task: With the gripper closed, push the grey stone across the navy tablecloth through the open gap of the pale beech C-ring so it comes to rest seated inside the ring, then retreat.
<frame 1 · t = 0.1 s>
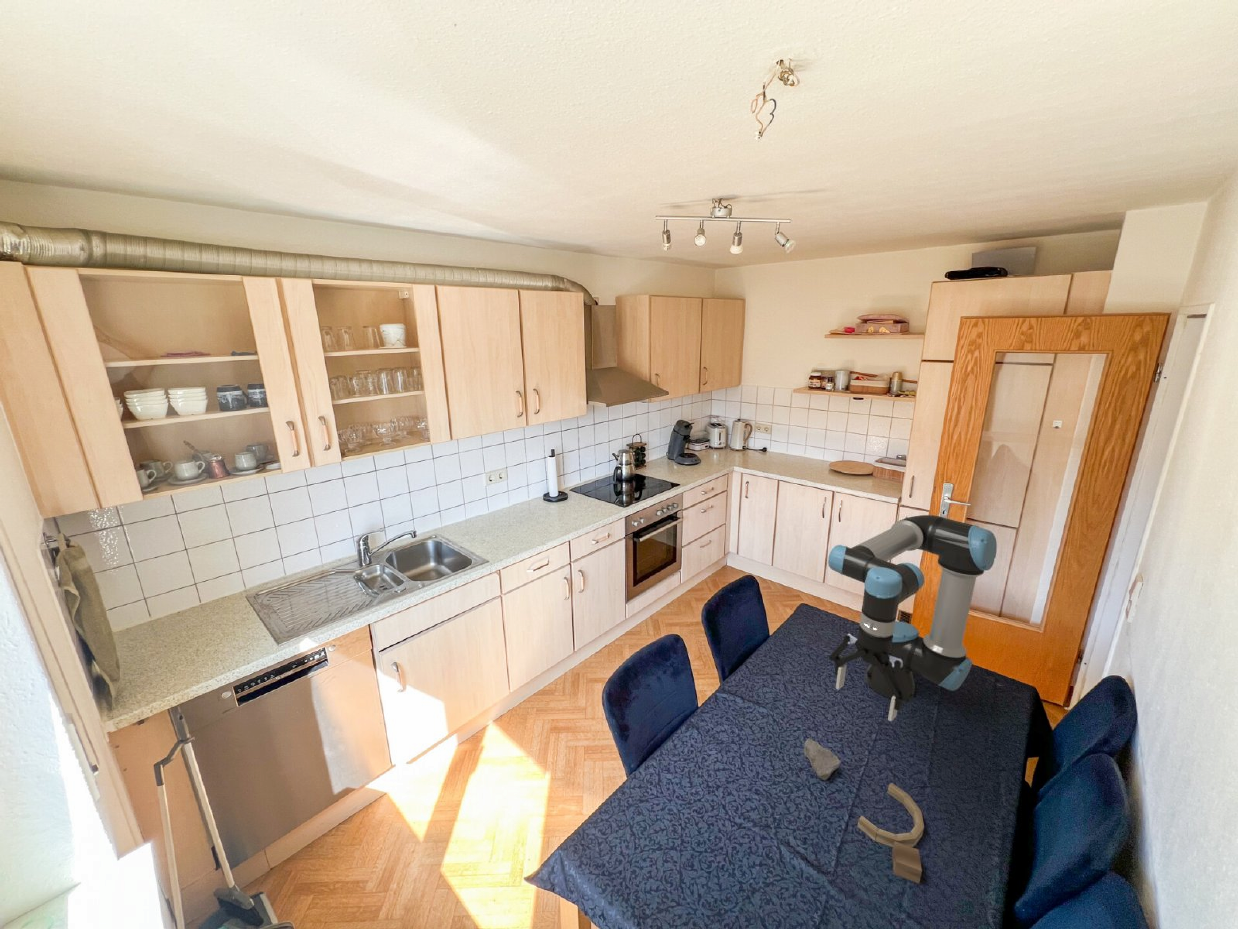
hand: (864, 702, 125), 28 cm above the table, fingers open, 13 cm apart
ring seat: (882, 814, 125), on the table
stone: (818, 766, 139), on the table
walnut block: (904, 868, 113), on the table
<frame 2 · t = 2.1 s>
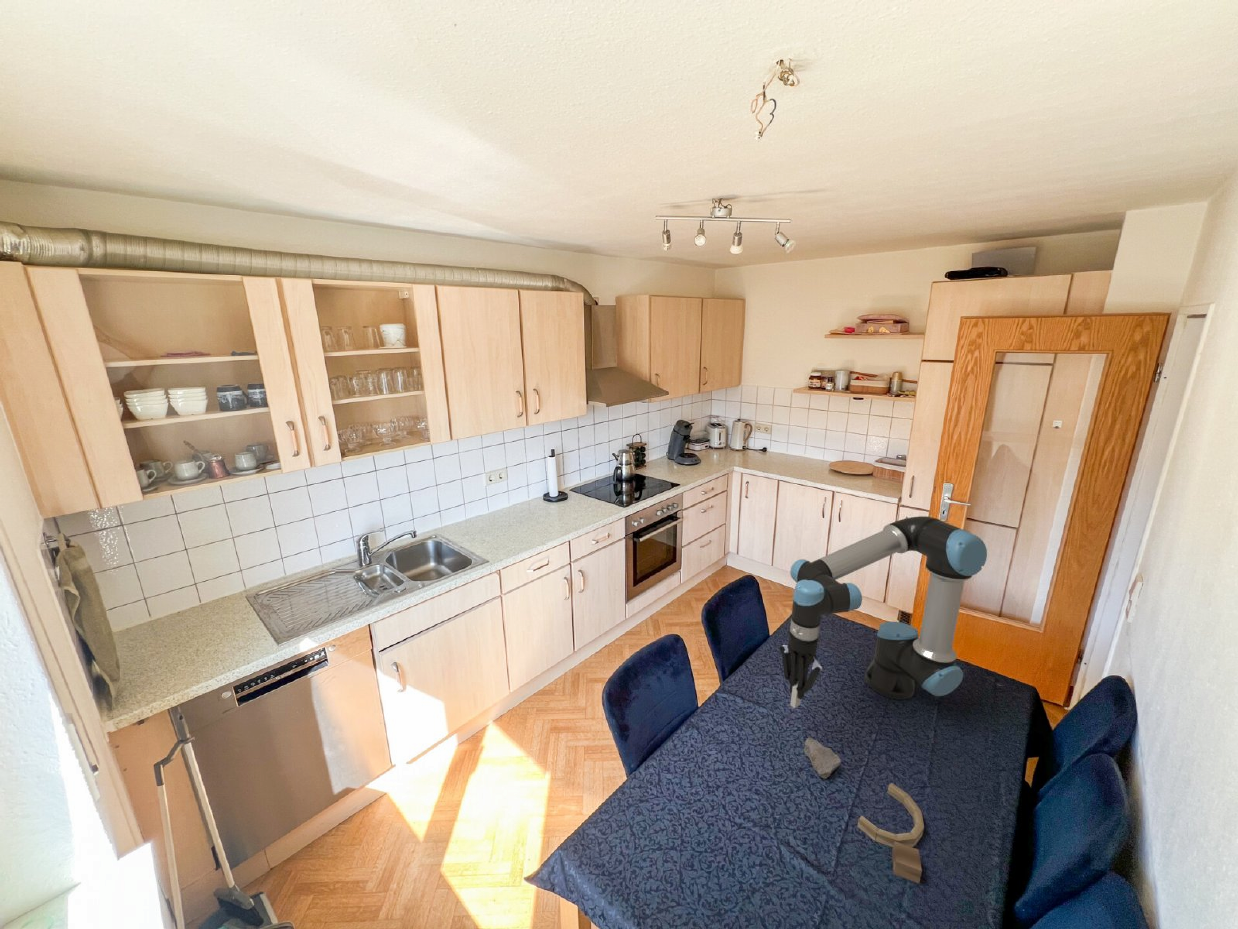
hand: (795, 704, 142), 15 cm above the table, fingers closed
nothing on the table moved.
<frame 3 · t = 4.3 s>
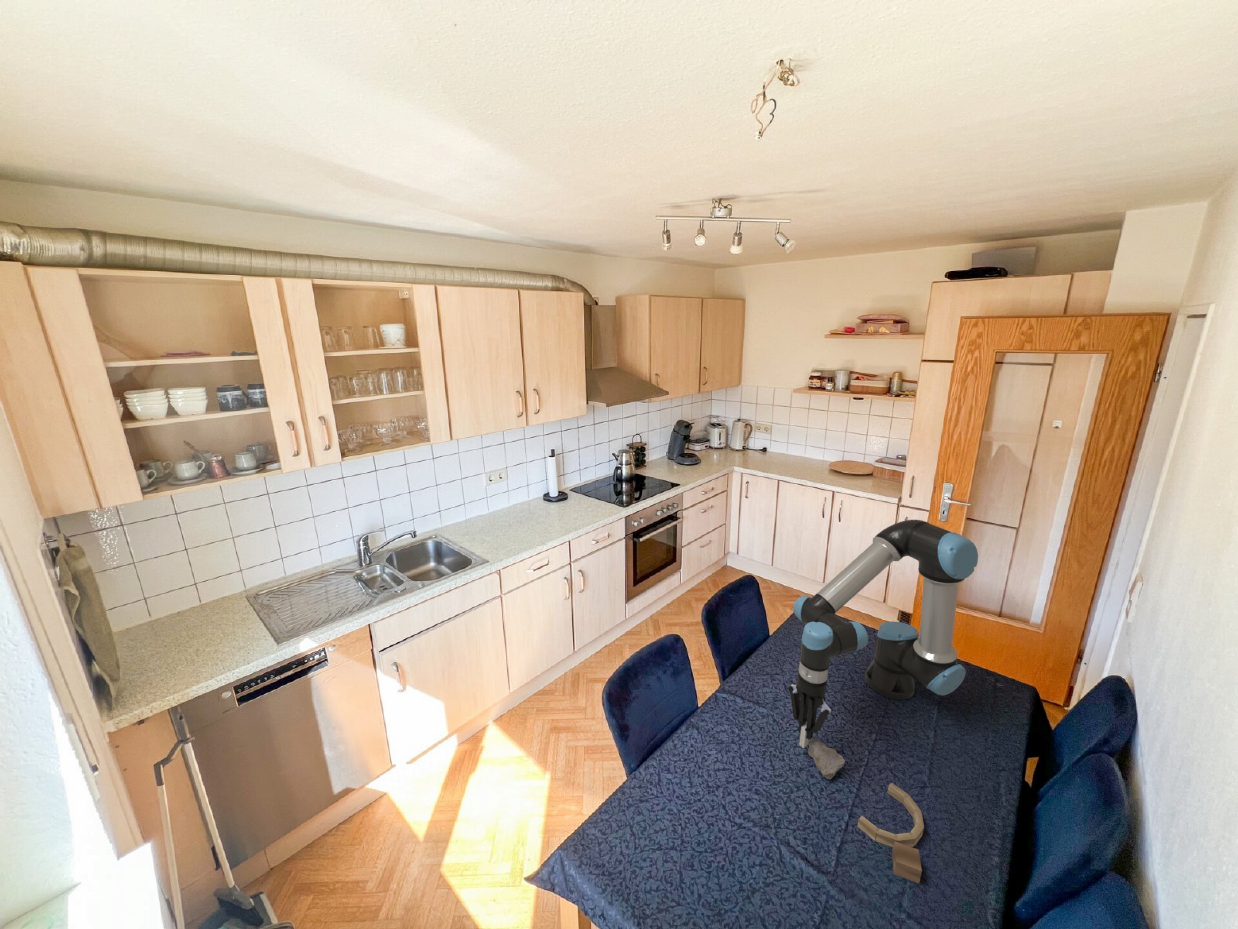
hand: (804, 744, 142), 3 cm above the table, fingers closed
stone: (823, 766, 139), on the table, touching gripper
everything else where it was.
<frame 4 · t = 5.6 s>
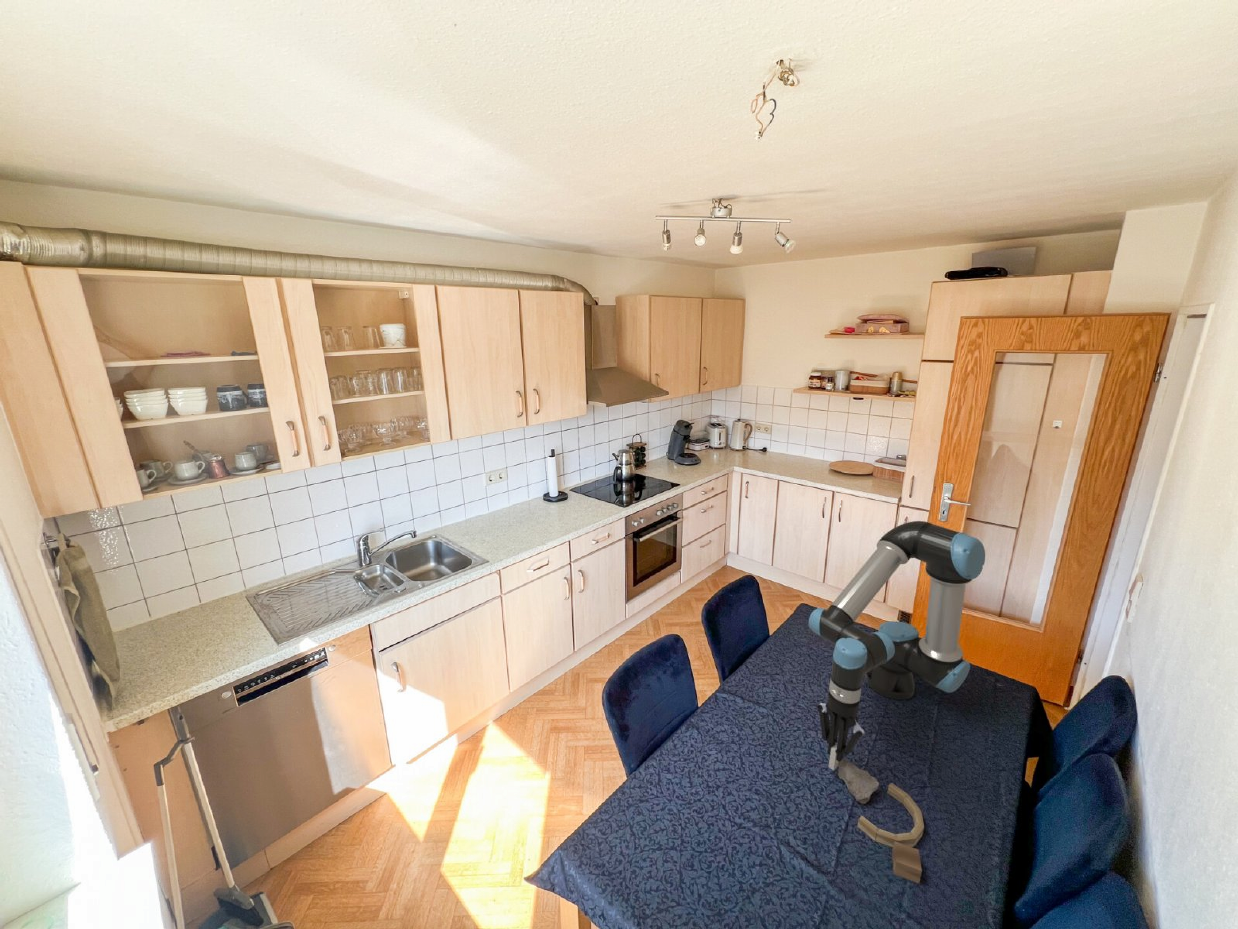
hand: (833, 766, 135), 3 cm above the table, fingers closed
stone: (855, 788, 132), on the table
everything else where it was.
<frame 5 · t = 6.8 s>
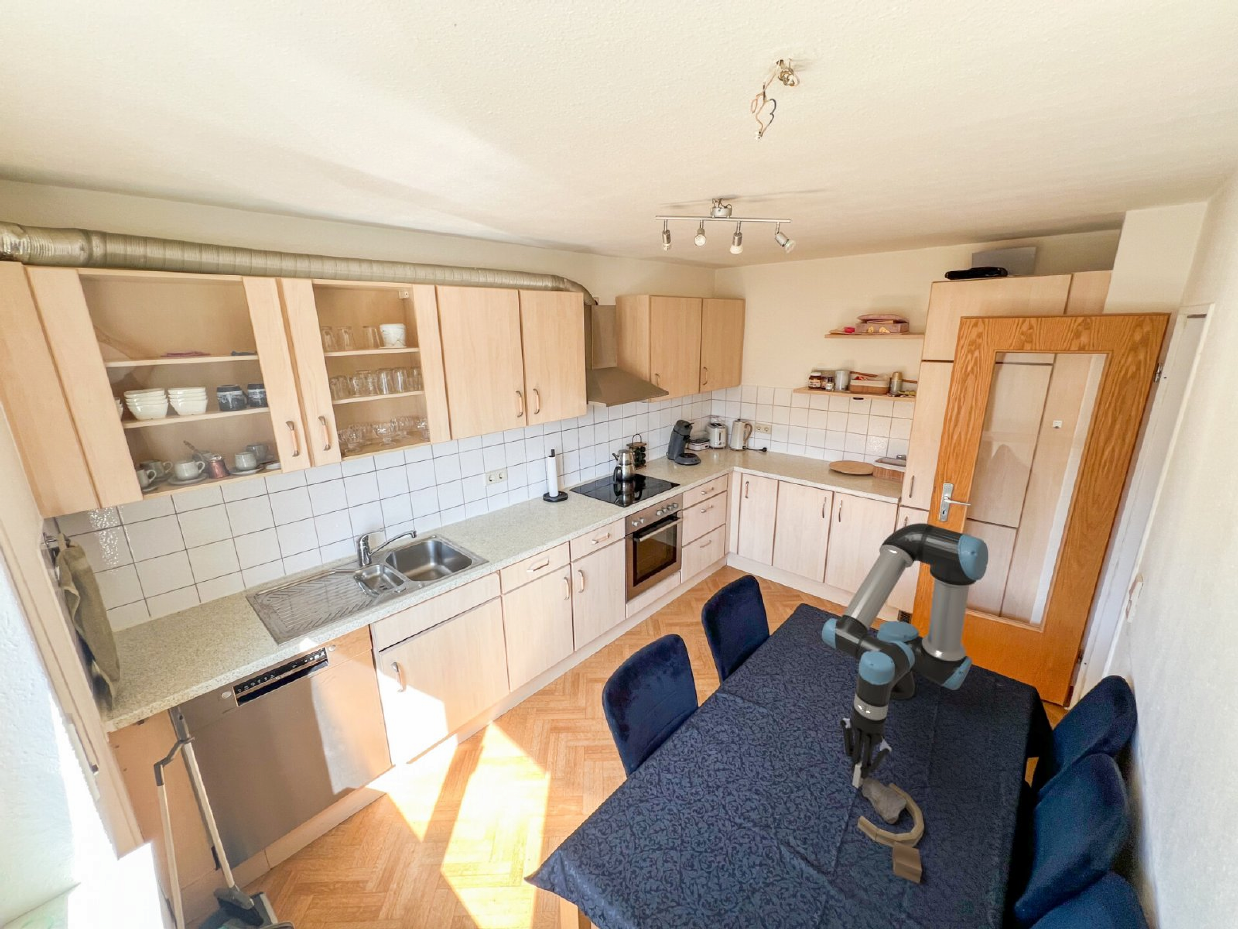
hand: (857, 784, 130), 3 cm above the table, fingers closed
stone: (880, 807, 127), on the table, touching gripper
everything else where it was.
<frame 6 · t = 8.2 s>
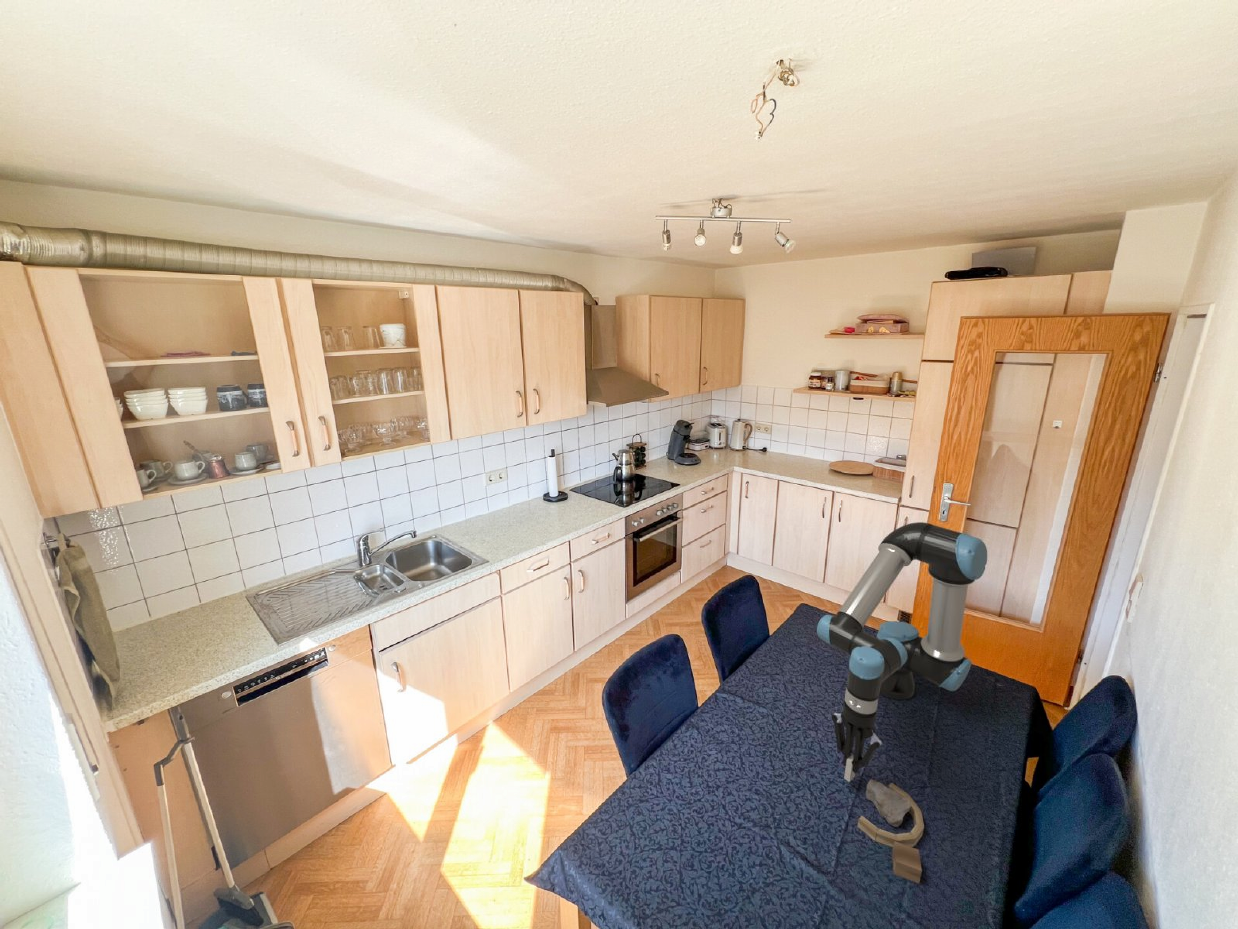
hand: (849, 777, 132), 3 cm above the table, fingers closed
stone: (885, 810, 127), on the table
everything else where it was.
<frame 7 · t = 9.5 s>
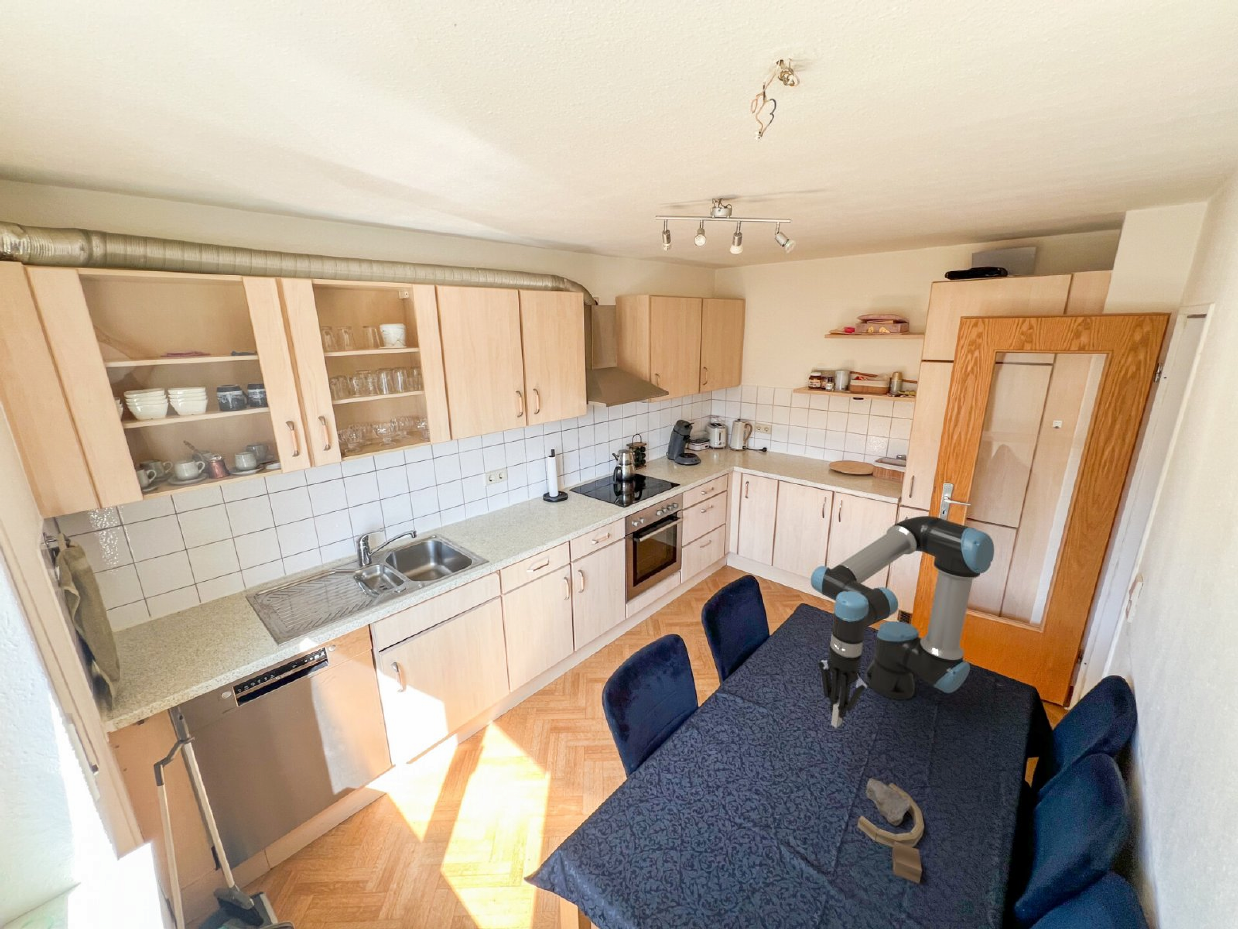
hand: (836, 724, 133), 17 cm above the table, fingers closed
nothing on the table moved.
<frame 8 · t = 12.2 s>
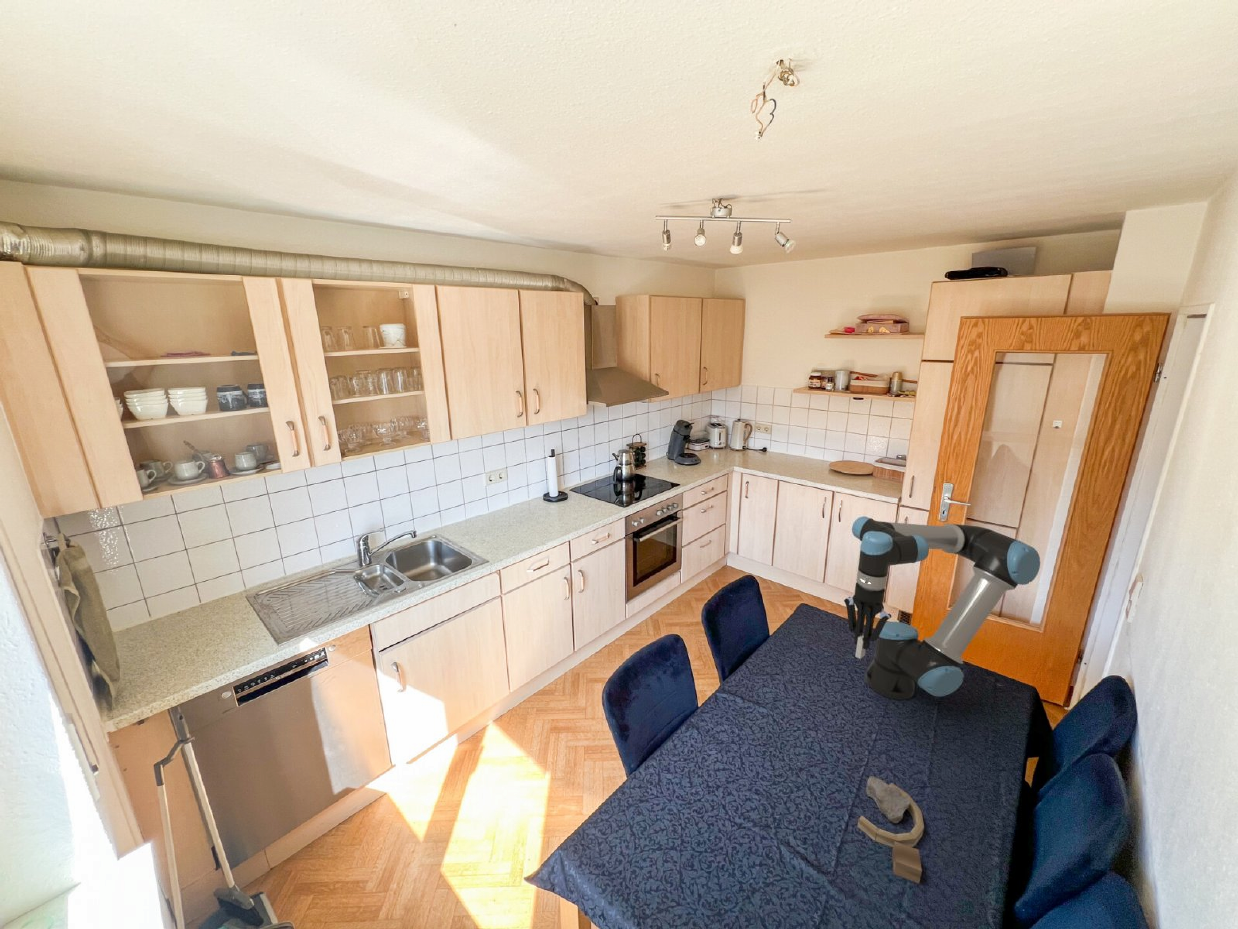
hand: (860, 655, 145), 26 cm above the table, fingers closed
at the end: stone 2.9 cm from the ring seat (horizontally); stone on the table; stone touching table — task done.
